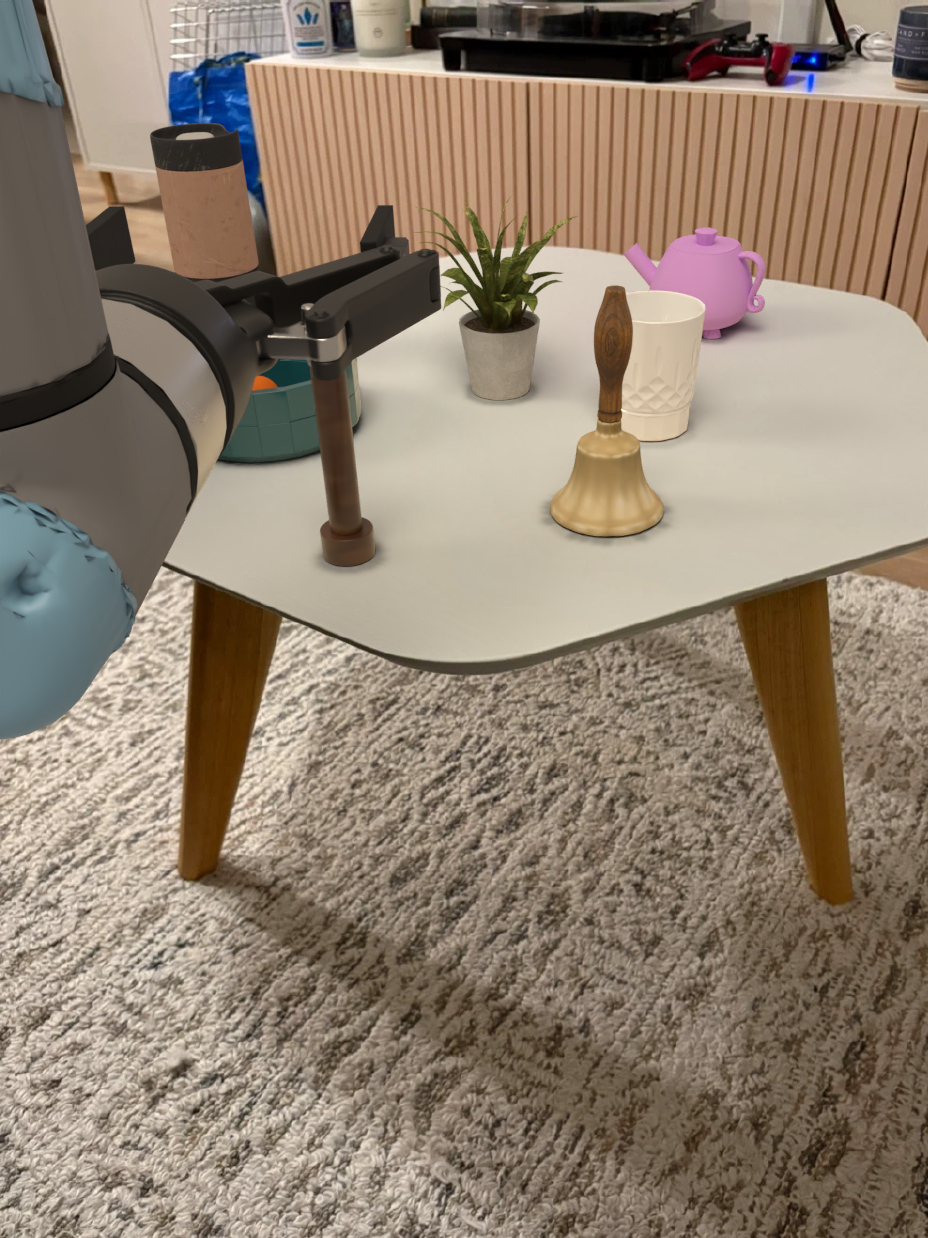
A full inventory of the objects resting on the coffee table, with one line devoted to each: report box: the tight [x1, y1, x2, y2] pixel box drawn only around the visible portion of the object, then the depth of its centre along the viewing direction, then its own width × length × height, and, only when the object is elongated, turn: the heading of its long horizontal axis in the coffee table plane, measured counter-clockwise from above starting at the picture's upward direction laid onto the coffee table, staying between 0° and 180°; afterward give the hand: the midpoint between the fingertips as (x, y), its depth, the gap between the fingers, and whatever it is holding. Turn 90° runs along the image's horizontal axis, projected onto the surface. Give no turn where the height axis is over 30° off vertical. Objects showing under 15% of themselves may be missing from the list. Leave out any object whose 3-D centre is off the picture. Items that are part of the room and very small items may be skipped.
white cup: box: [621, 289, 706, 442], centre depth 89 cm, size 8×8×10 cm
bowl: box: [218, 357, 363, 463], centre depth 92 cm, size 16×16×6 cm
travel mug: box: [149, 122, 261, 307], centre depth 101 cm, size 8×8×20 cm
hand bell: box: [549, 284, 665, 537], centre depth 76 cm, size 8×8×16 cm
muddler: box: [309, 366, 376, 567], centre depth 71 cm, size 4×4×18 cm
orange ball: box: [252, 376, 278, 391], centre depth 92 cm, size 4×4×4 cm
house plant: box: [413, 194, 578, 401], centre depth 94 cm, size 14×14×16 cm
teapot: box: [623, 226, 767, 340], centre depth 109 cm, size 10×15×9 cm
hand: (254, 233), depth 56 cm, fingers open, 13 cm apart
